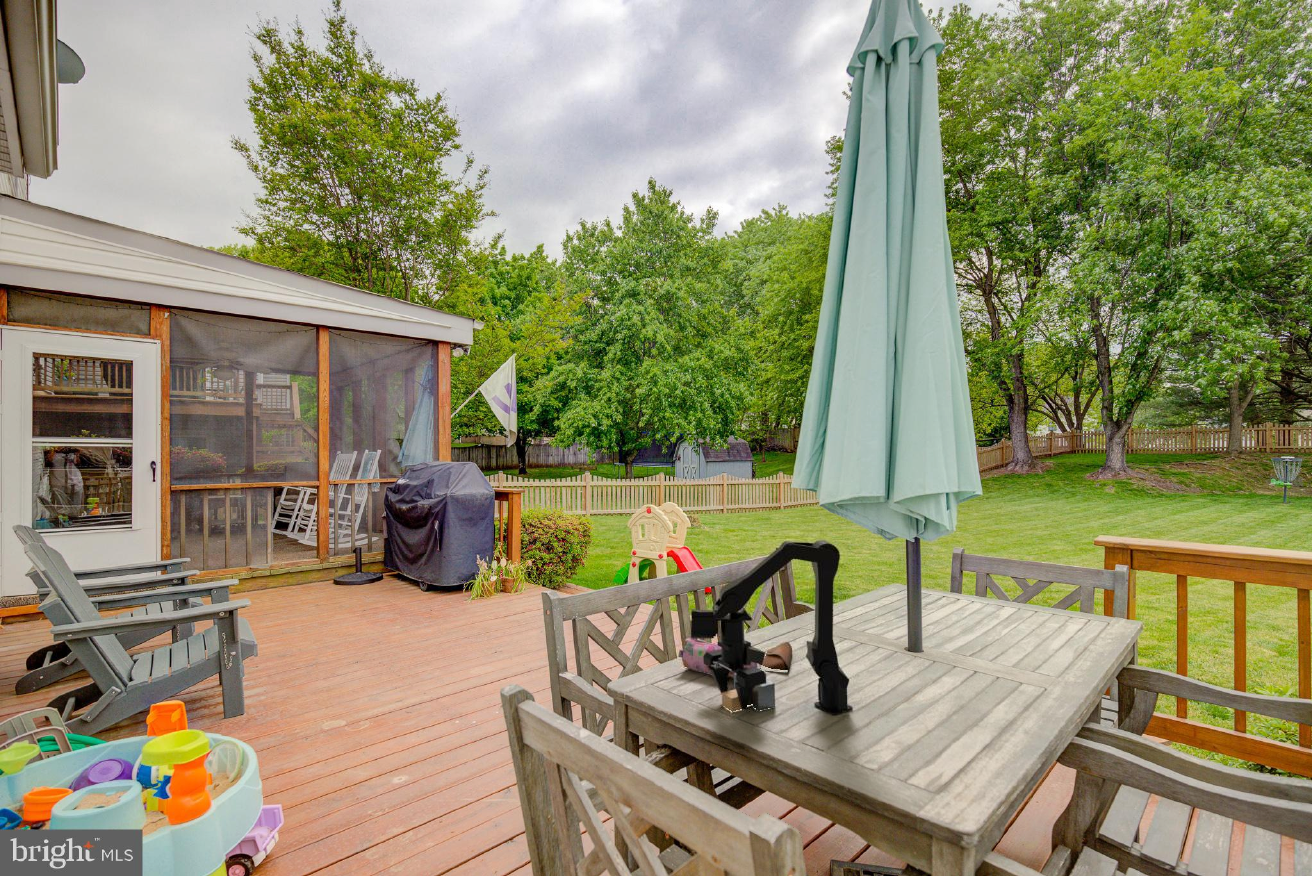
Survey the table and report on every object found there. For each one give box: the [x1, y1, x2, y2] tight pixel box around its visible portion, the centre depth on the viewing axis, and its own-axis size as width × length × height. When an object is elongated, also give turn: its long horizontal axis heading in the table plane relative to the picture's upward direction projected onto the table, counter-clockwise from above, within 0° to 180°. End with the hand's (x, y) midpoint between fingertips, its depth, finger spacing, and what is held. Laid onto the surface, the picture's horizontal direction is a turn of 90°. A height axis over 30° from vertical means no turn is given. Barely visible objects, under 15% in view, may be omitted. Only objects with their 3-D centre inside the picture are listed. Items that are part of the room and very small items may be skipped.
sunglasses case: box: [763, 641, 793, 672], centre depth 166 cm, size 18×7×7 cm, turn 164°
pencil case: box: [678, 637, 758, 679], centre depth 157 cm, size 21×9×9 cm, turn 57°
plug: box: [721, 688, 753, 712], centre depth 137 cm, size 4×13×4 cm, turn 119°
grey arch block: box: [733, 673, 776, 712], centre depth 138 cm, size 10×5×6 cm, turn 27°
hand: (734, 703), depth 135 cm, fingers open, 8 cm apart
